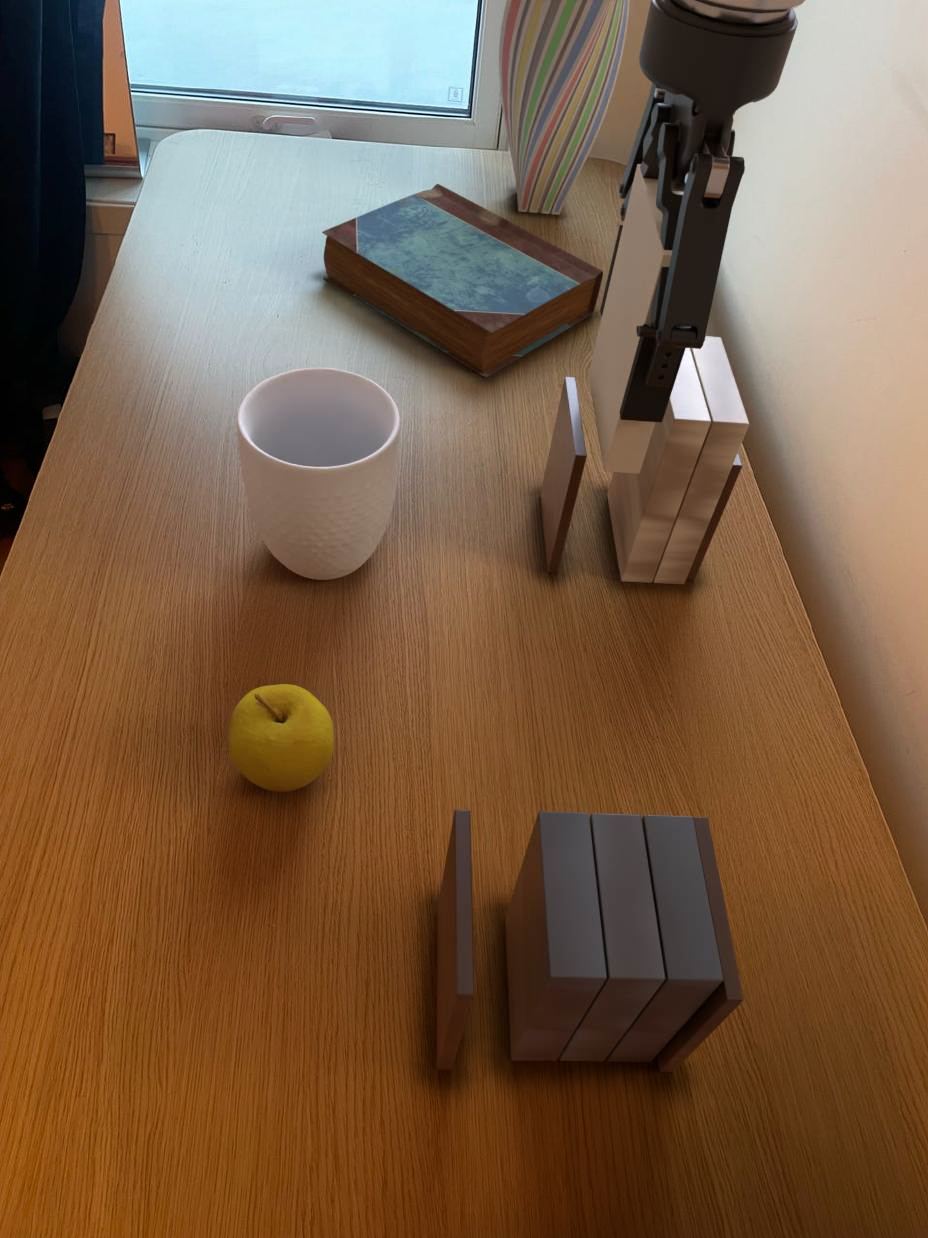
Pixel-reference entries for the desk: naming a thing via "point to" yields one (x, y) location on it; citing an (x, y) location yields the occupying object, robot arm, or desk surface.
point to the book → (461, 277)
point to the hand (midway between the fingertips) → (629, 363)
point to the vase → (556, 89)
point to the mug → (319, 467)
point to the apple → (280, 737)
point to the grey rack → (597, 940)
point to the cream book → (627, 327)
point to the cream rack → (658, 474)
